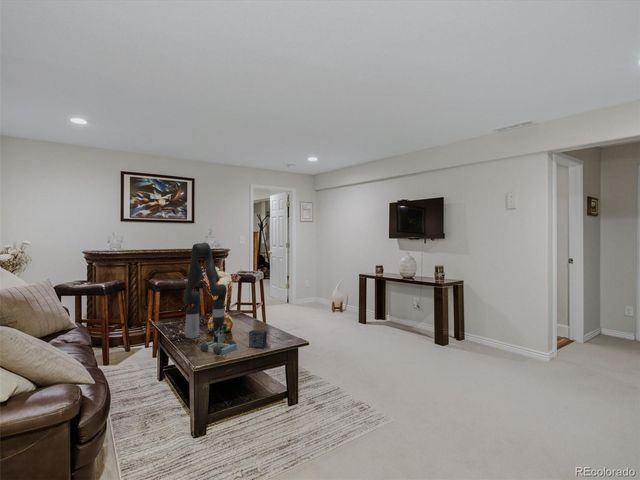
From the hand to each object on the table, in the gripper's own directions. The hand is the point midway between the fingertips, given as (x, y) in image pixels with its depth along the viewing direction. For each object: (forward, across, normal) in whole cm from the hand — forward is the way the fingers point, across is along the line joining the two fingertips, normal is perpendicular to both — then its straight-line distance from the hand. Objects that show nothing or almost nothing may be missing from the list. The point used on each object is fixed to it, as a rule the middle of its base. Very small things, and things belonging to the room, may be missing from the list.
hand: (218, 341), depth 231 cm
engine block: (0, 0, 0) cm, 0 cm away
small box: (+6, -17, +19) cm, 26 cm away
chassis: (+5, 0, 0) cm, 5 cm away
